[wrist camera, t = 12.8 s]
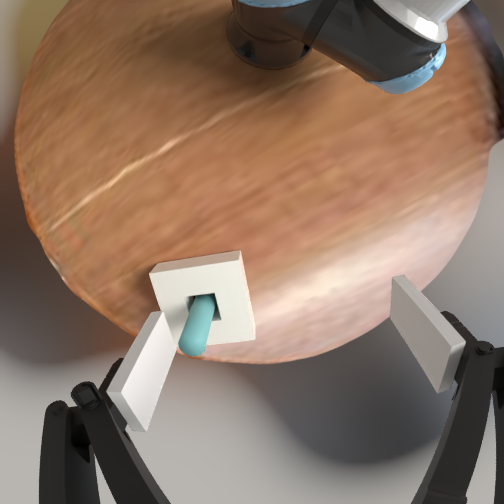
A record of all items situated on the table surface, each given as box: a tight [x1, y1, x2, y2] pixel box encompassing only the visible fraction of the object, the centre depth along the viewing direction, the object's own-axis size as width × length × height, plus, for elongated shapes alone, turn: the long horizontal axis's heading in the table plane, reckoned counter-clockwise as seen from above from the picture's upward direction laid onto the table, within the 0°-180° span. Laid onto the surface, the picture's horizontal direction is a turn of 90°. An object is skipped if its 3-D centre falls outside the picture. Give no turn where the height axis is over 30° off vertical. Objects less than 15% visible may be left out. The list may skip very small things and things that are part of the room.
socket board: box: [149, 250, 255, 348], centre depth 54 cm, size 16×16×5 cm
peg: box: [178, 293, 217, 356], centre depth 48 cm, size 4×4×16 cm
